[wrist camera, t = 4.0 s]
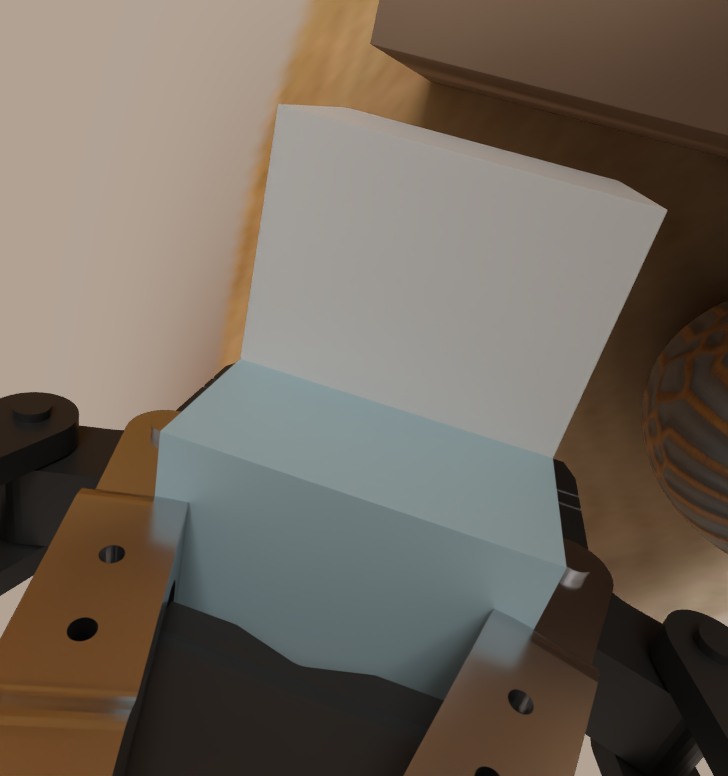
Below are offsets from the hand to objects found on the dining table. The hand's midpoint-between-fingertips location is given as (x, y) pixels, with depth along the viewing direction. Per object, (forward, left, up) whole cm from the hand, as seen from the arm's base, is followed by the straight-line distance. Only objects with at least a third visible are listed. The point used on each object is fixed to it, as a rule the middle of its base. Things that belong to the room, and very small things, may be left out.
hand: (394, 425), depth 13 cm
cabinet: (-1, 0, -2) cm, 2 cm away
